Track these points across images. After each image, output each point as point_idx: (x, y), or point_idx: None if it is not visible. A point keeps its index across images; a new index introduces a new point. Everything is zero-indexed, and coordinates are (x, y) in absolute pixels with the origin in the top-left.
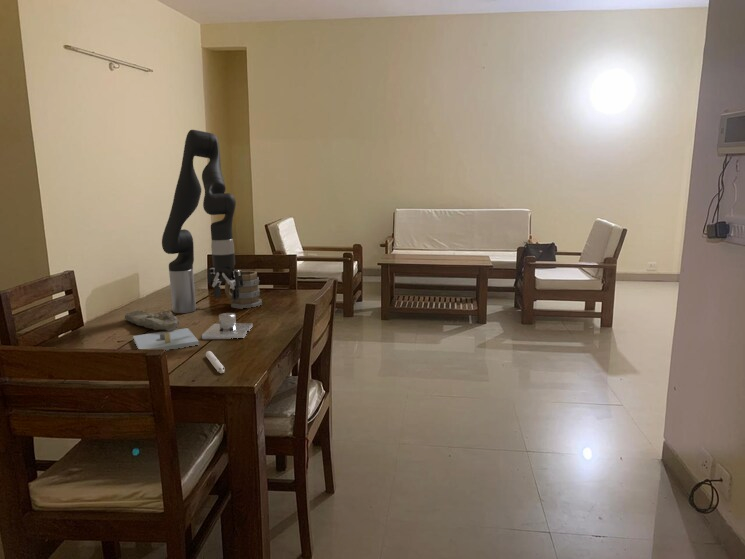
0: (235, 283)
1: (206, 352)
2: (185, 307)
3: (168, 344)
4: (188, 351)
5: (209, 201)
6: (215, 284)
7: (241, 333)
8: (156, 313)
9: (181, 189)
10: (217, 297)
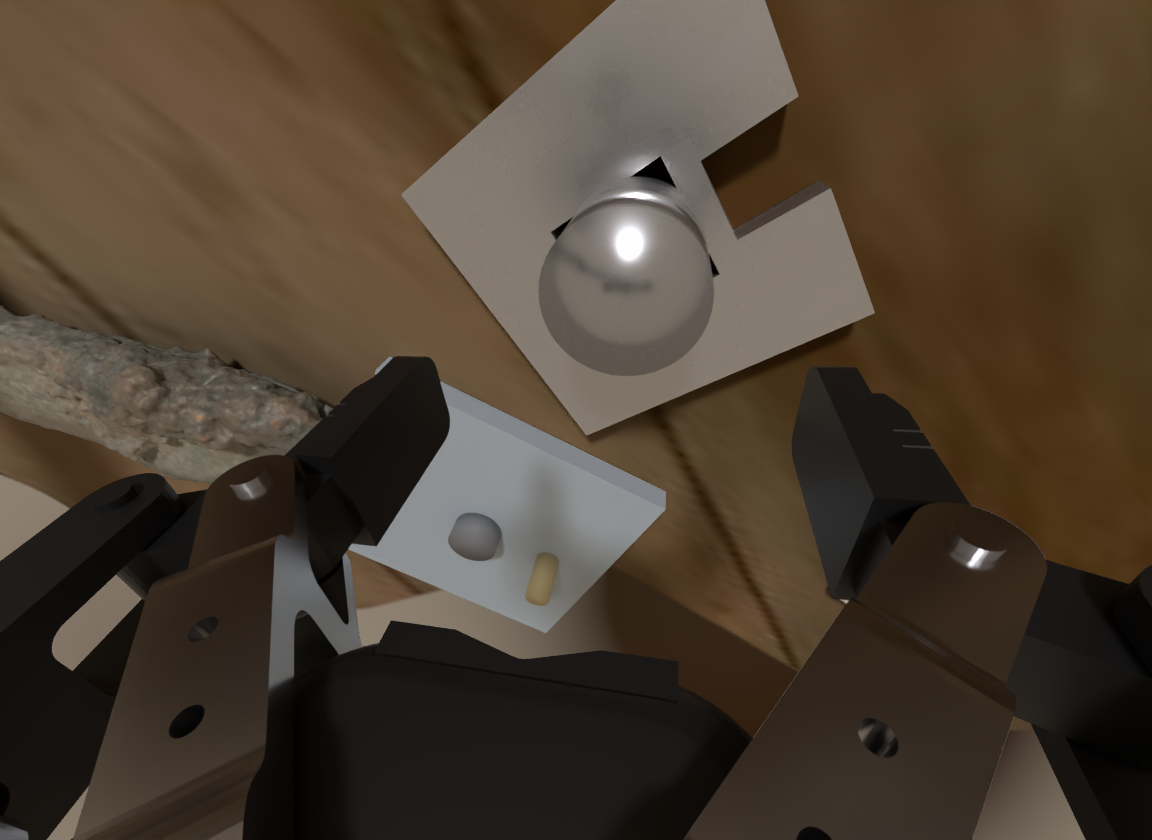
0: (1082, 819)
1: (840, 599)
2: None
3: (576, 575)
4: (689, 555)
5: None
6: (350, 610)
7: (847, 303)
8: (94, 412)
9: None
10: (446, 414)
